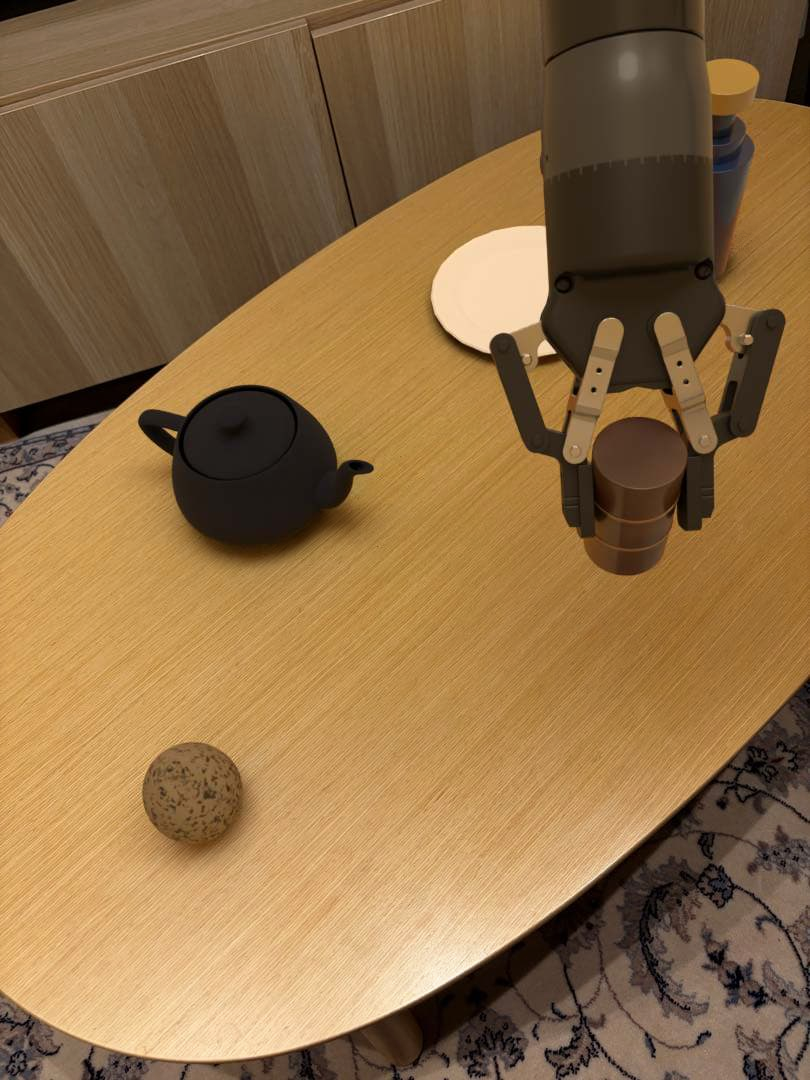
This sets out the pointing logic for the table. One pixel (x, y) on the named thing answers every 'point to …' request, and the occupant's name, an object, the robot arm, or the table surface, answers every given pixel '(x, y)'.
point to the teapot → (251, 465)
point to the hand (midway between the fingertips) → (637, 529)
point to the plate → (493, 286)
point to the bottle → (729, 148)
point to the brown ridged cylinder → (634, 493)
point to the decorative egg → (192, 792)
